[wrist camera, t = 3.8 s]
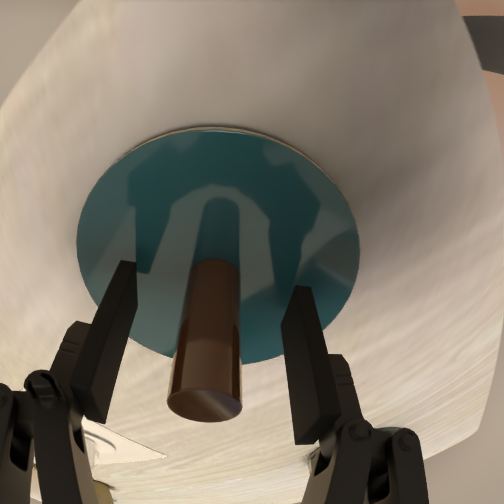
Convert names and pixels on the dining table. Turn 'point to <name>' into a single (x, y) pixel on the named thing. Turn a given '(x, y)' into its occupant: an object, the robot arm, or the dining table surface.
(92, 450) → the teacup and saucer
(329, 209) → the lid
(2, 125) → the dining table surface
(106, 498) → the flower pot
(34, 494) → the cup
